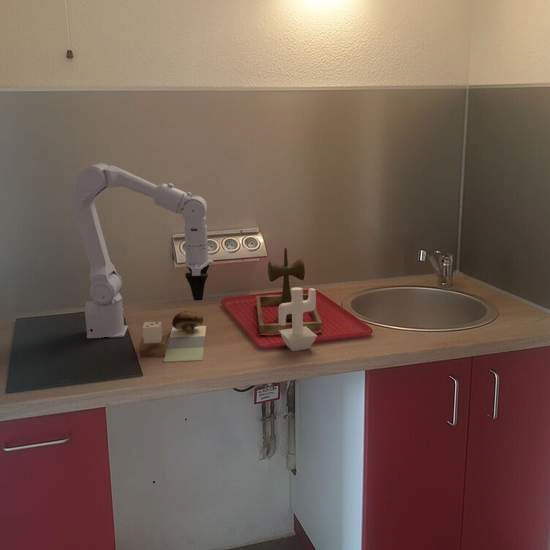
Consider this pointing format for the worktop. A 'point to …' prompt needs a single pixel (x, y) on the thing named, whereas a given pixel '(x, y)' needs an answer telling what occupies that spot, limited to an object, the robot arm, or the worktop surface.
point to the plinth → (153, 348)
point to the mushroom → (187, 321)
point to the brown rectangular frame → (275, 328)
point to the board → (185, 345)
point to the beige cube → (152, 332)
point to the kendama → (286, 277)
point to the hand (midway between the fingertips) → (198, 295)
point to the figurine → (297, 320)
